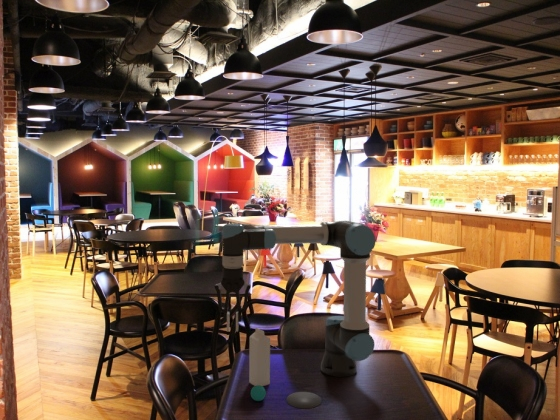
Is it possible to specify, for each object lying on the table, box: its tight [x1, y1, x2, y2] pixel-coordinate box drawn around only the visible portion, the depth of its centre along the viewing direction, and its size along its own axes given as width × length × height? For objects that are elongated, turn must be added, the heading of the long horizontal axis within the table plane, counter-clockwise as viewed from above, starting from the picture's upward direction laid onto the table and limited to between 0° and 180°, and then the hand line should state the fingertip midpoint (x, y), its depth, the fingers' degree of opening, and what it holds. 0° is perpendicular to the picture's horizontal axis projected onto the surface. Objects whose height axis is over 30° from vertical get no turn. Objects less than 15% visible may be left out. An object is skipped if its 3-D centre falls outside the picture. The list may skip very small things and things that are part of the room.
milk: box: [248, 327, 271, 387], centre depth 196 cm, size 6×6×22 cm
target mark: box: [286, 391, 322, 409], centre depth 183 cm, size 13×13×1 cm
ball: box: [250, 385, 267, 402], centre depth 182 cm, size 6×6×6 cm
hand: (232, 330), depth 180 cm, fingers open, 3 cm apart
